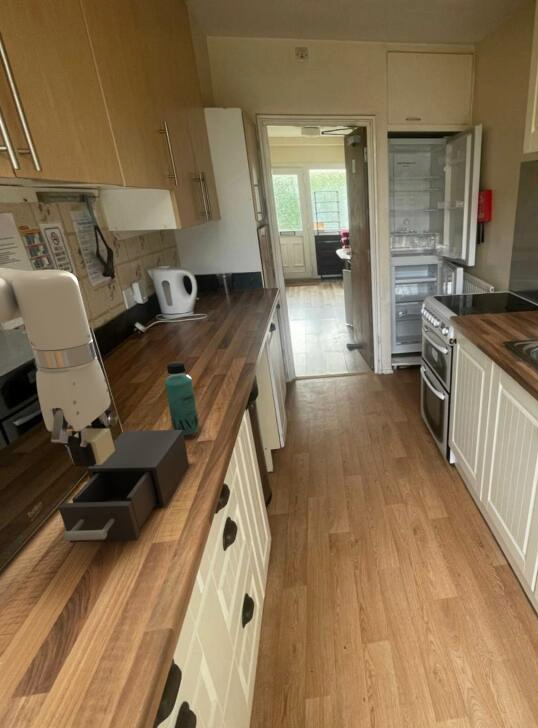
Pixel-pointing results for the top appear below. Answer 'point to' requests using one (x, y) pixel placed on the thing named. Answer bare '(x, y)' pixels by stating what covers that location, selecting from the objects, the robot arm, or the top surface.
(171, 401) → the beverage bottle
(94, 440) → the block
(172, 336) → the top surface
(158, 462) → the drawer cabinet
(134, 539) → the drawer
